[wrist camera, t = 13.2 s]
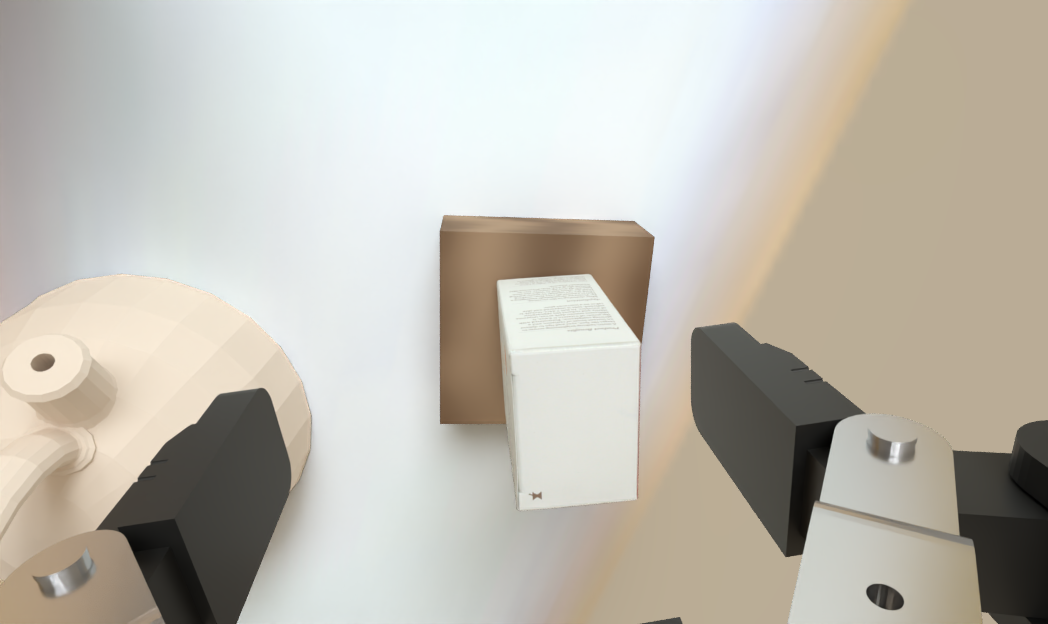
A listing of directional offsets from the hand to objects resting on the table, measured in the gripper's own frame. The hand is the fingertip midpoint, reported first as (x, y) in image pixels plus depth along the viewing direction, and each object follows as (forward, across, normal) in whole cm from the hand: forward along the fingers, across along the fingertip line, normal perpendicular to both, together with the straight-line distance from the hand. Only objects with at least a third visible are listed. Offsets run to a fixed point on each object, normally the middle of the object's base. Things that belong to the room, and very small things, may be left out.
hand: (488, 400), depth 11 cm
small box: (+22, -3, +9) cm, 24 cm away
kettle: (+27, +23, +13) cm, 38 cm away
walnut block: (+27, -3, +9) cm, 29 cm away
